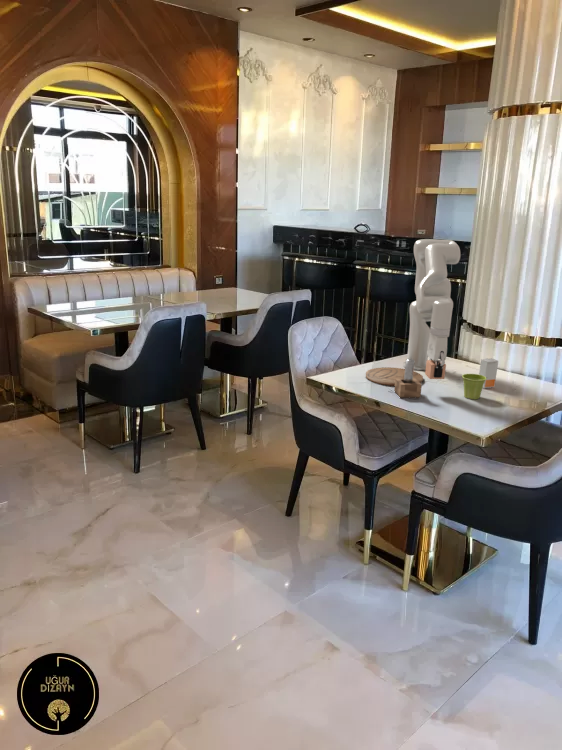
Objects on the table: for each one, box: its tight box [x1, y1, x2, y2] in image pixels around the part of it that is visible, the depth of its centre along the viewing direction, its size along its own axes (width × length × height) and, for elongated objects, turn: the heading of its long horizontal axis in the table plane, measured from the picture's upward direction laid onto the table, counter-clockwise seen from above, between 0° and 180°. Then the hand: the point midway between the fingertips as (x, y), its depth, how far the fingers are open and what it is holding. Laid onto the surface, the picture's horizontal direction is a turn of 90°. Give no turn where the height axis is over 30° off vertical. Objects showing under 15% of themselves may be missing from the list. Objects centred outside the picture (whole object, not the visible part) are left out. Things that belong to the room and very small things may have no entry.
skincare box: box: [478, 357, 499, 389], centre depth 263 cm, size 6×4×12 cm
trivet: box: [365, 366, 424, 387], centre depth 272 cm, size 25×25×2 cm
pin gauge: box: [404, 358, 415, 383], centre depth 248 cm, size 3×3×14 cm
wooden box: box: [393, 378, 423, 399], centre depth 250 cm, size 8×8×6 cm
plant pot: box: [461, 373, 486, 400], centre depth 249 cm, size 9×9×9 cm
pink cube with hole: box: [424, 359, 447, 380], centre depth 249 cm, size 6×6×6 cm
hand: (434, 374), depth 250 cm, fingers closed on pink cube with hole, 6 cm apart
